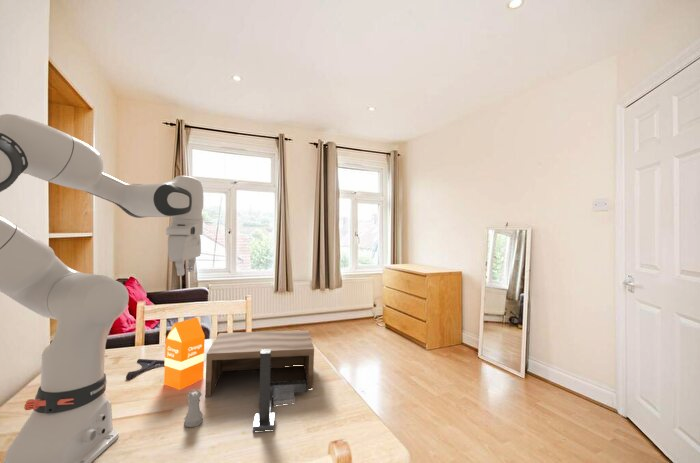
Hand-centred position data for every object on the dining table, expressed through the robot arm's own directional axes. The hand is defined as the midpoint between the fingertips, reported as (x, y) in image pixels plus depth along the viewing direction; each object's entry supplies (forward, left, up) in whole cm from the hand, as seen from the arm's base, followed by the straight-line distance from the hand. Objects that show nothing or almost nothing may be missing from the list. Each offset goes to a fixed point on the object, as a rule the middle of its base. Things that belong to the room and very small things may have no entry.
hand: (185, 273), depth 101 cm
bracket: (+17, +17, -37) cm, 44 cm away
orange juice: (+6, +1, -36) cm, 37 cm away
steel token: (-11, -31, -37) cm, 49 cm away
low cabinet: (+4, -24, -36) cm, 44 cm away
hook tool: (-17, -31, -35) cm, 50 cm away
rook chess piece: (-19, -8, -36) cm, 42 cm away
